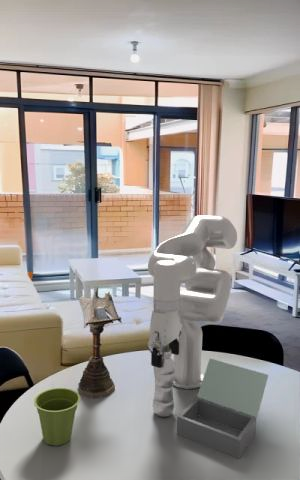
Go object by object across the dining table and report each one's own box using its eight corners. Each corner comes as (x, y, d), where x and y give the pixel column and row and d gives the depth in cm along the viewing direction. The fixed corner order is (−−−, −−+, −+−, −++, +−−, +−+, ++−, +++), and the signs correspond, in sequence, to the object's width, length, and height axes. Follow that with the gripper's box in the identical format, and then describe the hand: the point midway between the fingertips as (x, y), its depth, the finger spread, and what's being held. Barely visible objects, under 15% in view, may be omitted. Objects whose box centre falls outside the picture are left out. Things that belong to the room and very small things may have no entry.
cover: (209, 358, 128) (210, 359, 129) (197, 396, 123) (198, 397, 124) (267, 374, 119) (268, 375, 119) (256, 417, 114) (257, 417, 115)
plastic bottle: (159, 422, 119) (161, 356, 116) (148, 410, 125) (149, 347, 122) (178, 416, 122) (180, 352, 119) (166, 405, 128) (168, 343, 125)
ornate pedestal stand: (127, 401, 130) (129, 292, 124) (86, 408, 125) (86, 296, 120) (113, 377, 145) (114, 279, 140) (76, 382, 141) (75, 281, 135)
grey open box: (176, 433, 114) (177, 416, 114) (196, 413, 124) (197, 397, 124) (238, 458, 105) (240, 440, 104) (255, 434, 115) (256, 417, 114)
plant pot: (58, 458, 103) (57, 416, 101) (25, 441, 109) (24, 402, 108) (89, 434, 113) (89, 395, 111) (57, 420, 119) (56, 383, 118)
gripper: (170, 293, 128) (169, 346, 131) (138, 309, 113) (137, 368, 117) (192, 298, 124) (190, 352, 127) (161, 315, 109) (160, 375, 112)
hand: (165, 359), depth 122 cm, fingers open, 9 cm apart
